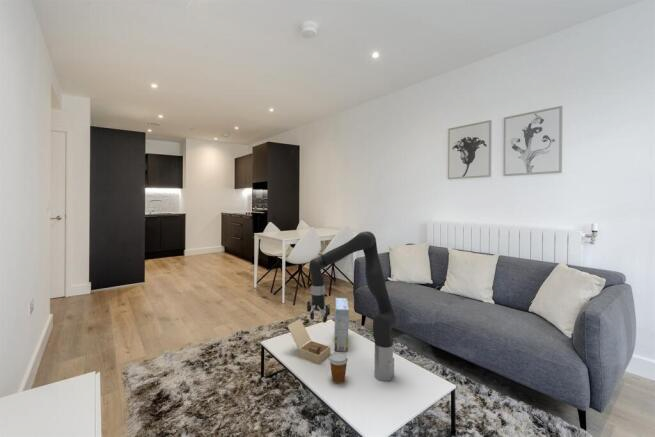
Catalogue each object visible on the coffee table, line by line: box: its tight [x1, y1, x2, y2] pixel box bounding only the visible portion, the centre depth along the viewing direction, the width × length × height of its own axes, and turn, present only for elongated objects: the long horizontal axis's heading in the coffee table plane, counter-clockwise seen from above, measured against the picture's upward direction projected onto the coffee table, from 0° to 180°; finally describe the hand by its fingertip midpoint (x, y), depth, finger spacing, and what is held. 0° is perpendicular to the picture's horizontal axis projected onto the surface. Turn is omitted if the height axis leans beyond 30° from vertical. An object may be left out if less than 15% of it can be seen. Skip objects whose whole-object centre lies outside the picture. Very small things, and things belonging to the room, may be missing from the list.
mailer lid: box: [286, 318, 312, 349], centre depth 181 cm, size 14×12×1 cm
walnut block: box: [309, 344, 321, 355], centre depth 175 cm, size 5×5×5 cm
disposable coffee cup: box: [328, 351, 349, 384], centre depth 153 cm, size 10×10×12 cm
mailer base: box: [298, 340, 332, 365], centre depth 175 cm, size 14×12×5 cm
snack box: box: [334, 297, 350, 352], centre depth 191 cm, size 22×9×26 cm, turn 179°
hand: (318, 320), depth 173 cm, fingers open, 8 cm apart
